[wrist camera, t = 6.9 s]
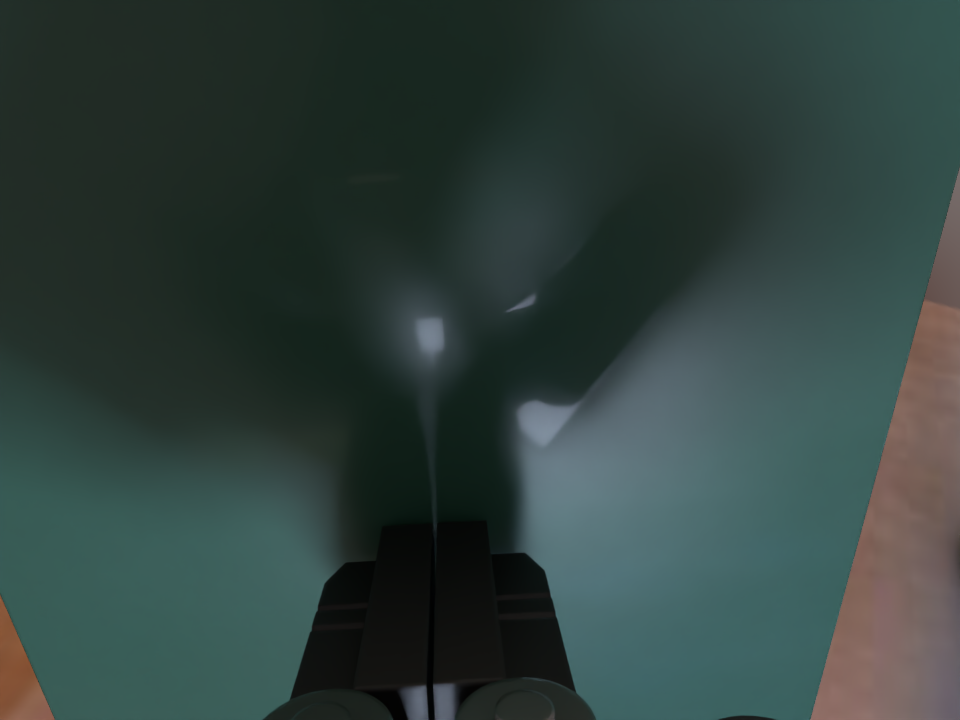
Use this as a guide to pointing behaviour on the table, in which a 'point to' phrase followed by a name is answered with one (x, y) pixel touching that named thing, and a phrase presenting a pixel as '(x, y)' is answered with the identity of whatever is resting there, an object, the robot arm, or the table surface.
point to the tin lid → (456, 325)
